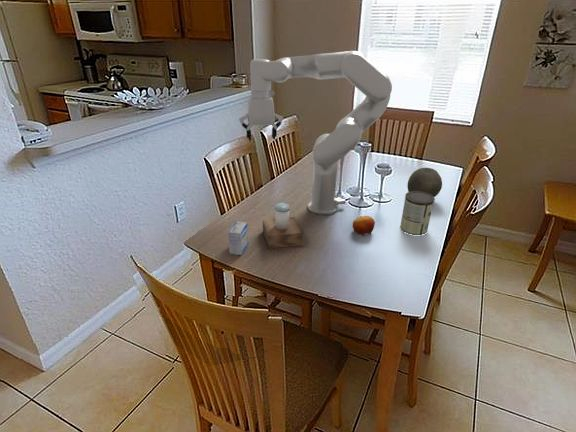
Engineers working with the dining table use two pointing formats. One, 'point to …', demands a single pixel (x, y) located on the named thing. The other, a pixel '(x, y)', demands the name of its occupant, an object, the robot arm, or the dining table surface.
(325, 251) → the dining table surface
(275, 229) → the walnut block
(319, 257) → the dining table surface
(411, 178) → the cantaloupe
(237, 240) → the medicine box
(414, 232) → the coffee can
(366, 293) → the dining table surface
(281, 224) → the pill bottle
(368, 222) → the fruit
